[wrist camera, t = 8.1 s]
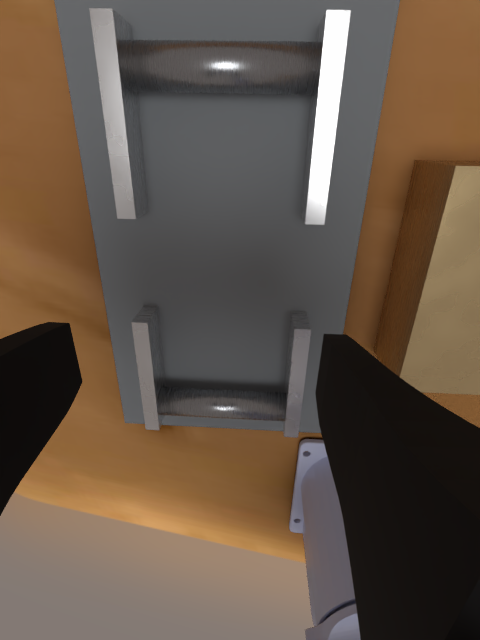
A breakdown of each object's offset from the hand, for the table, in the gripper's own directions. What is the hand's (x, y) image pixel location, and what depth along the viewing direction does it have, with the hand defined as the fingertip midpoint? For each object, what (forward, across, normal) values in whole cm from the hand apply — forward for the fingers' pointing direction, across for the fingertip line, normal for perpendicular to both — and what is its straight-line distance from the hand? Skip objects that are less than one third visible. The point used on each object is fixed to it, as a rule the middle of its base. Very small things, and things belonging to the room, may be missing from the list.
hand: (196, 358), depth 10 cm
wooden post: (+10, -11, 0) cm, 14 cm away
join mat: (+9, 0, 0) cm, 9 cm away
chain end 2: (+9, 0, +6) cm, 11 cm away
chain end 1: (+9, 0, -6) cm, 11 cm away
